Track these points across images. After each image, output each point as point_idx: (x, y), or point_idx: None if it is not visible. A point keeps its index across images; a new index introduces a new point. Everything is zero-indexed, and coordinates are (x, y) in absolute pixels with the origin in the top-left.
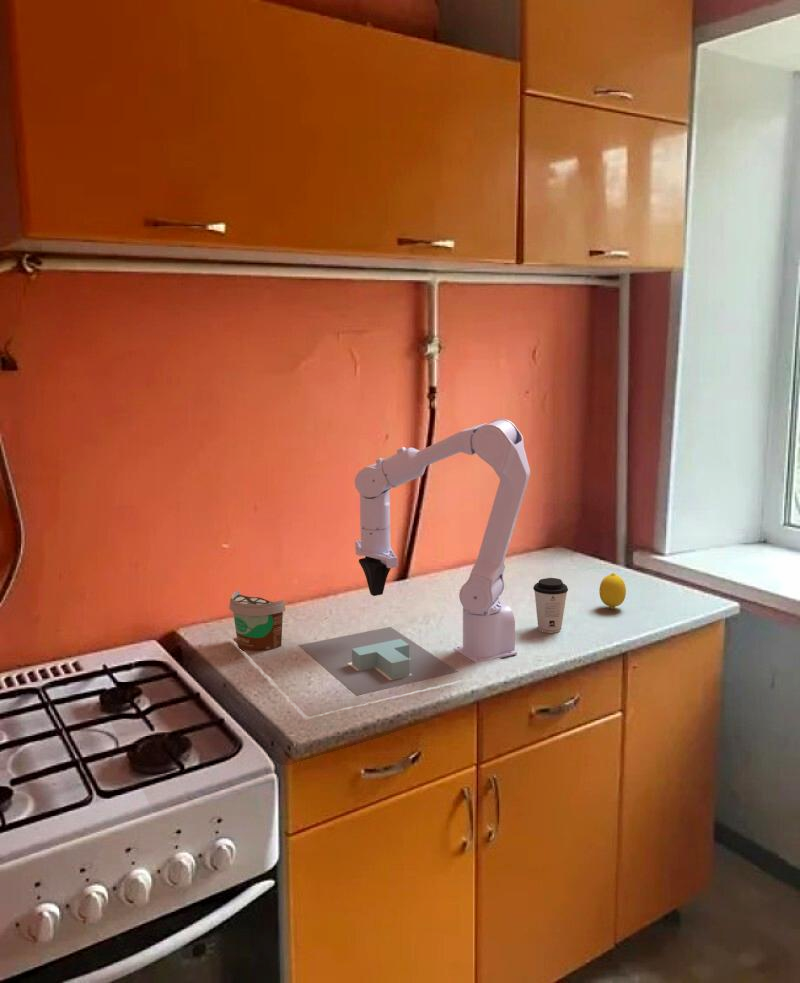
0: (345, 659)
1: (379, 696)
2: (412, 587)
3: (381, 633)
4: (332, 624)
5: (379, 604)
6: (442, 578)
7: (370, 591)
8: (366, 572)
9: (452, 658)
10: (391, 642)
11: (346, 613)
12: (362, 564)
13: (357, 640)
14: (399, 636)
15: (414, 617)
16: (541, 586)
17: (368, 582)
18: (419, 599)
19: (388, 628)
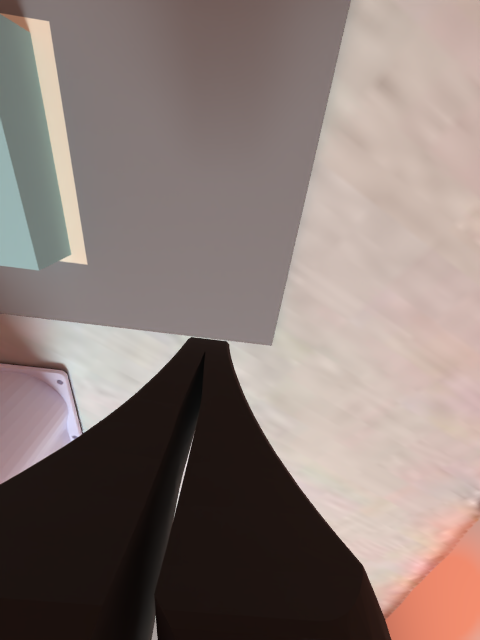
0: (91, 39)
1: None
2: (435, 491)
3: (244, 301)
4: (437, 234)
5: (427, 408)
6: (416, 533)
7: (214, 347)
8: (197, 449)
9: (20, 343)
10: (11, 224)
11: (462, 319)
12: (220, 555)
13: (241, 208)
14: (195, 325)
15: (295, 415)
16: None
17: (214, 381)
18: (371, 468)
19: (264, 335)
